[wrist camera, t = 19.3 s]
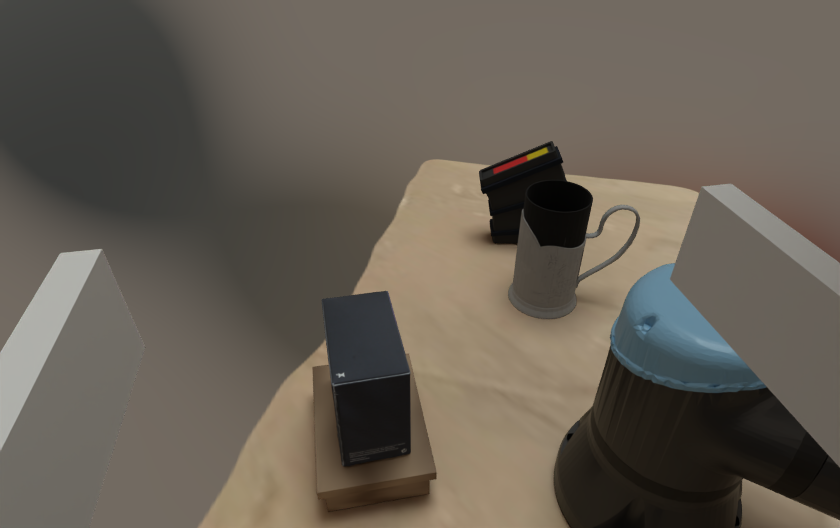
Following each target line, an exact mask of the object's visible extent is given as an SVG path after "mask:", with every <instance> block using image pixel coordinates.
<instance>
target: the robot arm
mask: <svg viewBox="0 0 840 528" xmlns="http://www.w3.org/2000/svg"><path fill="white" fill-rule="evenodd" d="M610 339H611V346H610V349H609V353H608V356H607V360H606V363H605V367H604V370H603V373H602V377H601V380H600V383H599V386H598V390H597V393H596V396H595V400H594V403H593V406H592V407H591V408H590V409H589V410H588V411H587V412H586V413H585V414H584V415H583V416H582V417H581V418H580V420H579V421H577V422H576V423H575V424H574V425H573V426H572V427H571V428H570V430H569V431H568V432H567V434H566V435H565V437H564V439H563V441H562V443H561V445H560V448H559V451H558V455H557V459H556V463H555V469H554V486H555V492H556V496H557V500H558V503H559V505H560V508H561V510H562V512H563V514H564V516H565V518H566V520H567V521H568V523H569V525H570V526H571V528H740V527H741V521H742V504H741V495H742V479H743V478H744V479H746V480H749V481H751V482H753V483H756V484H758V485H760V486H763V487H765V488H767V489H770V490H772V491H774V492H776V493H779V494H781V495H783V496H785V497H788V498H790V499H792V500H795V501H797V502H799V503H801V504H804V505H806V506H808V507H811V508H813V509H815V510H817V511H820V512H822V513H824V514H827V515H829V516H831V517H833V518H836V519H838V520H840V263H839V262H837V261H836V260H835V259H833V258H832V257H831V256H829V255H828V254H827V253H825V252H823V251H822V250H821V249H820V248H818V247H817V246H816V245H814V244H813V243H811V242H810V241H809V240H807V239H806V238H804V237H803V236H802V235H801V234H799V233H798V232H797V231H795V230H794V229H792V228H791V227H790V226H788V225H787V224H785V223H784V222H783V221H781V220H780V219H779V218H777V217H776V216H775V215H773V214H772V213H770V212H769V211H768V210H766V209H765V208H763V207H762V206H761V205H760V204H758V203H757V202H755V201H754V200H753V199H751V198H750V197H748V196H747V195H746V194H745V193H743V192H742V191H740V190H739V189H738V188H736V187H735V186H733V185H732V184H724V185H715V186H705V187H702V188H701V190H700V193H699V196H698V199H697V202H696V205H695V208H694V211H693V213H692V216H691V219H690V222H689V225H688V228H687V231H686V234H685V237H684V239H683V242H682V245H681V248H680V251H679V254H678V257H677V260H676V263H673V264H666V265H663V266H660V267H658V268H656V269H654V270H652V271H650V272H648V273H647V274H646V275H644V276H643V277H641V278H640V279H639V280H638V281H637V282H636V283H635V284H634V285H633V287H632V288H631V289H630V291H629V293H628V295H627V297H626V299H625V302H624V305H623V307H622V310H621V313H620V315H619V317H618V318H617V319H616V321H615V323H614V324H613V327H612V330H611V335H610ZM144 350H145V346H144V344H143V341H142V339H141V337H140V335H139V332H138V330H137V328H136V325H135V323H134V321H133V318H132V316H131V314H130V312H129V309H128V307H127V305H126V303H125V300H124V298H123V296H122V293H121V291H120V289H119V287H118V284H117V282H116V280H115V278H114V275H113V273H112V271H111V268H110V266H109V264H108V262H107V259H106V257H105V255H104V253H103V250H102V249H97V250H88V251H77V252H68V253H60V255H59V256H58V258H57V260H56V262H55V263H54V265H53V267H52V268H51V270H50V271H49V273H48V275H47V276H46V278H45V279H44V281H43V283H42V284H41V286H40V288H39V289H38V291H37V293H36V294H35V296H34V298H33V299H32V301H31V303H30V304H29V306H28V308H27V309H26V311H25V313H24V314H23V316H22V318H21V319H20V321H19V323H18V324H17V326H16V328H15V329H14V331H13V333H12V334H11V336H10V338H9V339H8V341H7V342H6V344H5V346H4V347H3V349H2V351H1V352H0V528H89V527H90V524H91V520H92V517H93V514H94V511H95V508H96V504H97V501H98V498H99V495H100V491H101V488H102V485H103V482H104V479H105V475H106V472H107V469H108V466H109V463H110V459H111V456H112V453H113V450H114V446H115V443H116V439H117V437H118V433H119V430H120V427H121V424H122V421H123V417H124V414H125V411H126V407H127V405H128V401H129V398H130V395H131V391H132V388H133V385H134V382H135V379H136V375H137V372H138V369H139V366H140V363H141V359H142V356H143V353H144Z"/></svg>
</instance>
